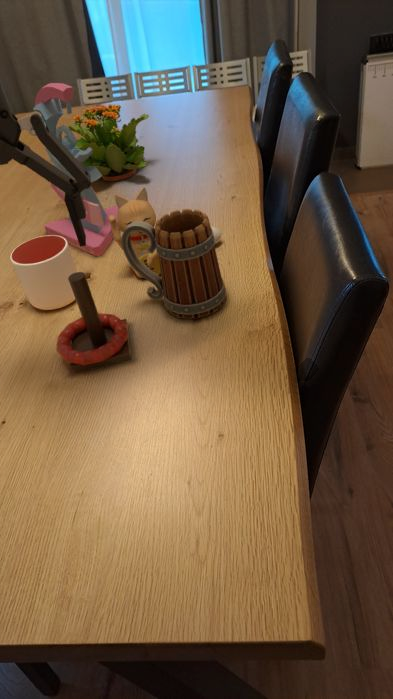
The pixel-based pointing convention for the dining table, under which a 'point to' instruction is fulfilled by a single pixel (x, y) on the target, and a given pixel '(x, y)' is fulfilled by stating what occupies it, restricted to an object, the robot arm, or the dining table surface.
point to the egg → (216, 234)
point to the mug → (181, 263)
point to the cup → (45, 271)
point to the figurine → (139, 241)
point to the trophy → (96, 216)
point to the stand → (93, 327)
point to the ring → (95, 354)
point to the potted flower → (110, 142)
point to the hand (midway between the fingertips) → (33, 252)
